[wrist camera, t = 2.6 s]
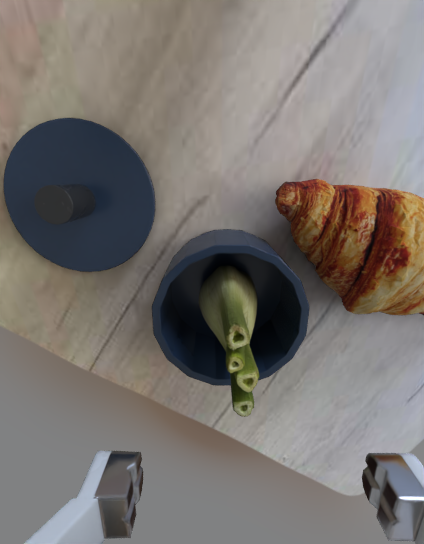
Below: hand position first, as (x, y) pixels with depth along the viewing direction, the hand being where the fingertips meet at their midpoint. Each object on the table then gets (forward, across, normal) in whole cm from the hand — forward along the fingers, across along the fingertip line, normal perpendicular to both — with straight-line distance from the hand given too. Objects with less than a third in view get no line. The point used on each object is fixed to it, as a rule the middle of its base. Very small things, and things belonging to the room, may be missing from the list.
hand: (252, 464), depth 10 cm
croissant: (+17, -12, -4) cm, 22 cm away
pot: (+17, 0, 0) cm, 17 cm away
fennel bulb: (+17, 0, 0) cm, 17 cm away
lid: (+16, +12, -8) cm, 22 cm away
